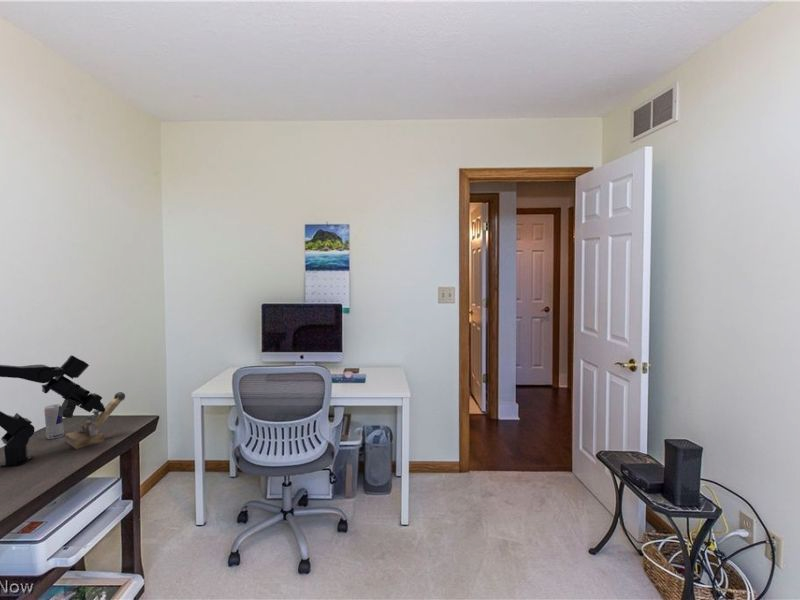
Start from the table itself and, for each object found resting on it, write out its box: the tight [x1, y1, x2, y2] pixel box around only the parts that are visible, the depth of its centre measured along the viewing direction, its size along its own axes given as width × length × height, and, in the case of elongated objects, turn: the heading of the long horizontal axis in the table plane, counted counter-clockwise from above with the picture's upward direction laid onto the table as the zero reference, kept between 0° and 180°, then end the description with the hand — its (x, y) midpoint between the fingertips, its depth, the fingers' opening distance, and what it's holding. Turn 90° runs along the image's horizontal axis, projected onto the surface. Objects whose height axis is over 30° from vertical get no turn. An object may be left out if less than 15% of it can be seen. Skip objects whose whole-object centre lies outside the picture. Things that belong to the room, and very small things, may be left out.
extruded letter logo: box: [86, 402, 106, 422], centre depth 198 cm, size 25×2×6 cm, turn 19°
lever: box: [87, 391, 126, 431], centre depth 176 cm, size 4×4×17 cm
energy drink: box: [43, 404, 65, 440], centre depth 179 cm, size 5×5×12 cm
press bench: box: [64, 420, 105, 450], centre depth 173 cm, size 9×12×7 cm
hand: (104, 410), depth 176 cm, fingers closed
